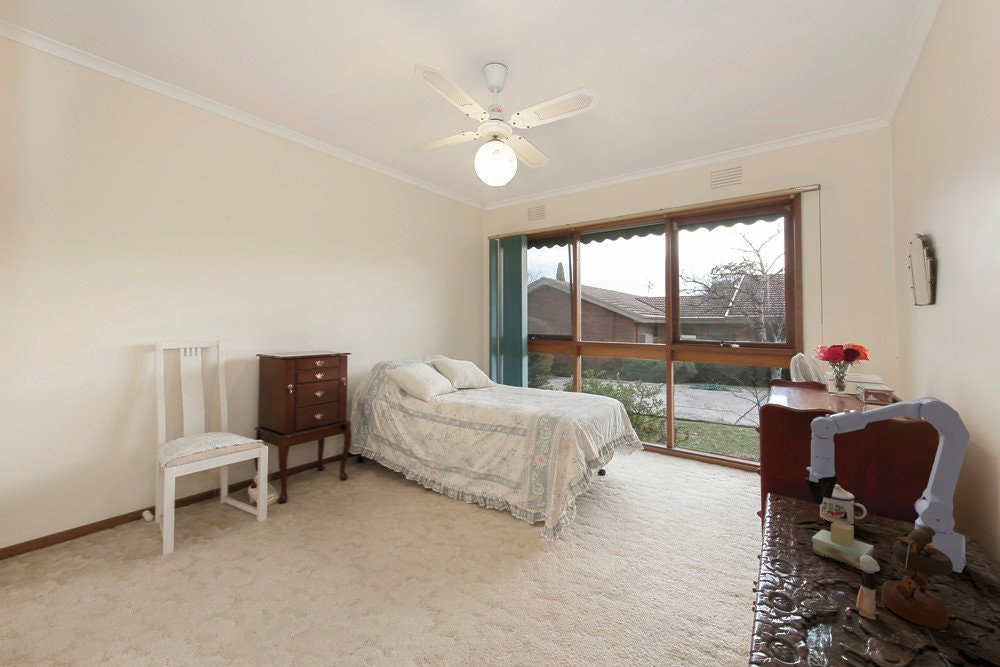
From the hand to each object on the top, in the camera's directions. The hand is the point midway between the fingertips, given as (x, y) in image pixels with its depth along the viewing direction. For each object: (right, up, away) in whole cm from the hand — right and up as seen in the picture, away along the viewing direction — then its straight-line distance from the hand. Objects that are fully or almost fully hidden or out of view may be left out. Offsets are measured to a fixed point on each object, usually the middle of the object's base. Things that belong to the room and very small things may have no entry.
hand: (822, 500), depth 128 cm
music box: (-7, -10, -36) cm, 38 cm away
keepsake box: (-5, -10, -14) cm, 18 cm away
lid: (-5, -7, -14) cm, 16 cm away
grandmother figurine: (-19, -10, -37) cm, 43 cm away
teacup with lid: (+13, -11, +8) cm, 18 cm away
